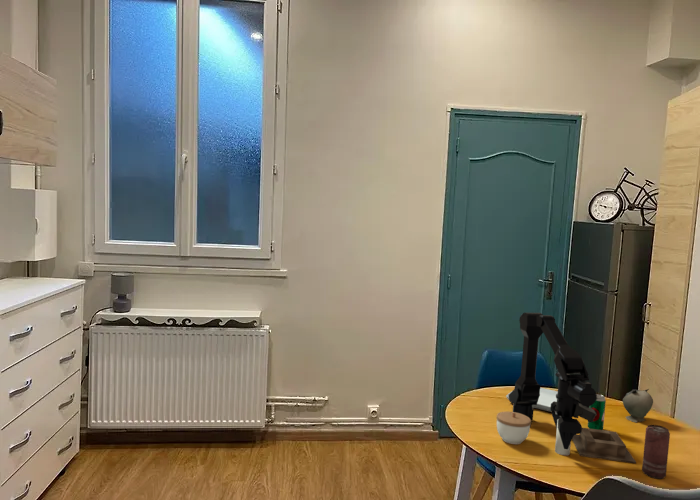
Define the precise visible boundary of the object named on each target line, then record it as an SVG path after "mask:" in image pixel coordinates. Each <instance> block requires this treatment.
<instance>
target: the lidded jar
mask: <svg viewBox="0 0 700 500" xmlns="http://www.w3.org/2000/svg"><path fill="white" fill-rule="evenodd" d="M531 421H532V420H530V418H529V417H527V416H525V415H523V414H520V413H516V412H513V411H500V412H498V413H497V414H496V430H497V432H498V433H497V434H498V435H499V437H500V438H502V441H503V442H504V443H507V444H512V445H520V444H521V443H523V442H524V441H525V440H526V439H527V438H528V436H529V433H530V428H531Z"/></svg>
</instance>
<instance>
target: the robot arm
mask: <svg viewBox="0 0 700 500" xmlns="http://www.w3.org/2000/svg"><path fill="white" fill-rule="evenodd" d="M518 321H519V329H520V331H521V333H522V335H523V343H522V344H523V345H522V346H523V347H522V355H521V369H520V375H519V377H518V379H517V380H515V384H514V388H513V390H512V391H510V392H511V393H510V392H509V393H510V394H509V393H508V394H509V400H508V401H509V402H510V403H511V404H512V412H516V413H520V414H523V415H525V416H527V417H529V418H530V420H531V424H532V423H533V420H534V408H533V407H532V405H537V402H538V399H539V396H540V388H541V385H540V384H539V383H538V381H537V379H536V371H537V363H538V362H537V361H538V349H539V339H540V337H542V335H543V334H544V336H545V338H546V341H547V342H548V344H549V345H550V348H551V350H552V351H553V353H554V358H553V362H554V364H555V367H556V369H557V372H556V373H555V377H558V384H557V391H558V393H557V394H556V398H557V402H555V401H554V402H553V403H551V408H550V409H551V416H552V419H553V422H554V426H555V429H556V430H557V420H558V430H559V433H560V437H561V440H562V444H563V447H564V449H568V448H569V445H570V443H571V444H572V441H573V440H572V438H573V436H574V435H576V434H577V435H579V434H580V433H581V432H582V428H583V426H582V424H581V423H580V421H579V417H580V418H582V419H584V420H585V421H587V422H588V421H589V422H591V423H592V421H593V419H594V417H595V416H596V412H595V411H594V410H593V409H592V408H591V407H590V406H591V405H593V404H594V403H595V401H596V398H597V395H596V394H597V392H596V390H595V388H593V387H592V383H590V382H588V381H590V378H589V373H588V370H587V367H586V366H585V363H584V362H585V361H584V360H583V357H581V355H580V354H579V353H578V351H577V350H575V349H574V348H573V347H571V346H570V345H569V344H568V342H567V341H566V339H565V337H564V335H563V334H562V331H561V330H560V328H559V326H558V325H557V323H556V319H555V317H554V316H553V315H549V314H547V315H546V314H545V315H544V314H543V313H542V312H523V313H522V314H521V315H520V316H519V320H518ZM531 424H530V425H531Z"/></svg>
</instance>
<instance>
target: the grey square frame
mask: <svg viewBox="0 0 700 500" xmlns="http://www.w3.org/2000/svg"><path fill="white" fill-rule="evenodd" d="M571 441H572V443H573V444H574V446H575V449H576V451H577V453H578V454H579V456H580V457H585V458H592V459H598V460H599V459H600V460H607V461H608V460H609V461H614V462H622V463H629V464H636V463H637V461H636V460H635V458H634V457H633V455H632V454H631V452H630V451H629V449H628V448H627V445H626V443H624V441H623V440H622V438H621V437H620V435H619V434H618V433H617V431H612V430H604V429H603V430H597V429H589V428H588V427H587V428H586V427H582V432H581V433H579V434H576V435H574V436H573V438H572V440H571Z"/></svg>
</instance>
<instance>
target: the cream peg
mask: <svg viewBox="0 0 700 500" xmlns="http://www.w3.org/2000/svg"><path fill="white" fill-rule="evenodd" d="M571 444H572V442H571V443H570V445H569V448H568V449H564V447H563V444H562V440H561V437H560V433H559V430H558V420H557V429H556V435H555V445H554V452H555V453H556V454H558V455H561V456H569V455H571Z"/></svg>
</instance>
